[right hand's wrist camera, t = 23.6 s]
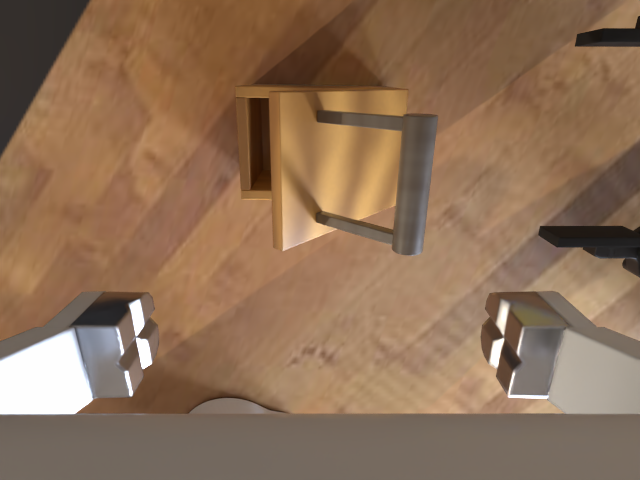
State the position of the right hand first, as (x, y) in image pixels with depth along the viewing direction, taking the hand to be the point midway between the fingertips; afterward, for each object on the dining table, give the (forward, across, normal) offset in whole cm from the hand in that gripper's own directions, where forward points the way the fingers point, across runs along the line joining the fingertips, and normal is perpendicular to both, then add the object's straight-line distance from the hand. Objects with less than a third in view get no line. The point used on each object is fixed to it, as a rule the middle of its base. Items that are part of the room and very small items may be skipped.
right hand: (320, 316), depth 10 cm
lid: (+20, -2, 0) cm, 21 cm away
